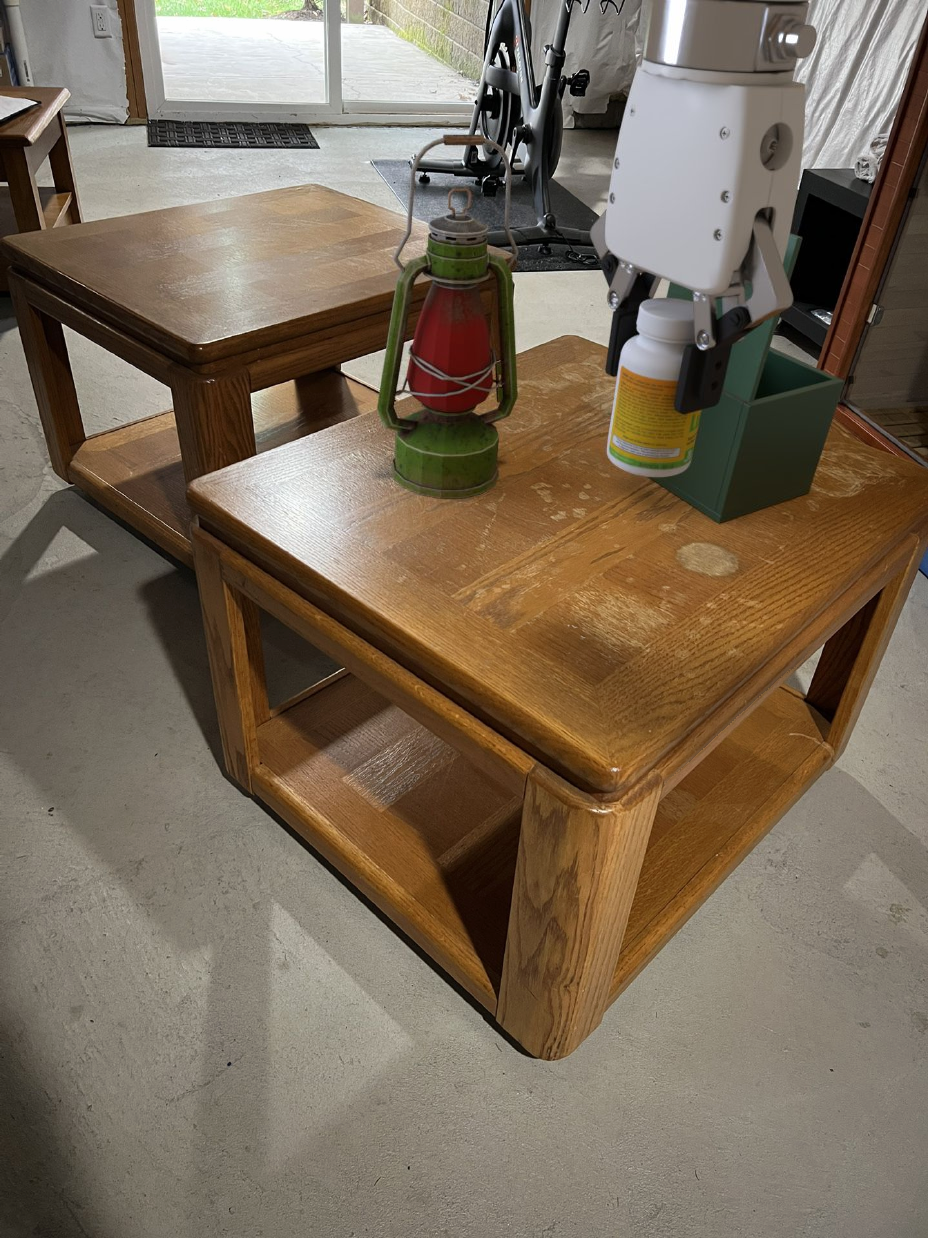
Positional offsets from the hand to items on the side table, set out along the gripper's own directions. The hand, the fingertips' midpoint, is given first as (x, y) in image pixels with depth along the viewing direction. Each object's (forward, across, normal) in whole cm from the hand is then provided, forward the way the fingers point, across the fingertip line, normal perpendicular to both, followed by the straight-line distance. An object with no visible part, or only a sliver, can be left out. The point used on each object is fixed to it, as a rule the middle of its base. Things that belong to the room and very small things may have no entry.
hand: (660, 386), depth 57 cm
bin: (+22, +17, -29) cm, 40 cm away
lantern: (+21, +31, -5) cm, 38 cm away
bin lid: (+3, +16, -23) cm, 29 cm away
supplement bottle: (+5, 0, 0) cm, 5 cm away
